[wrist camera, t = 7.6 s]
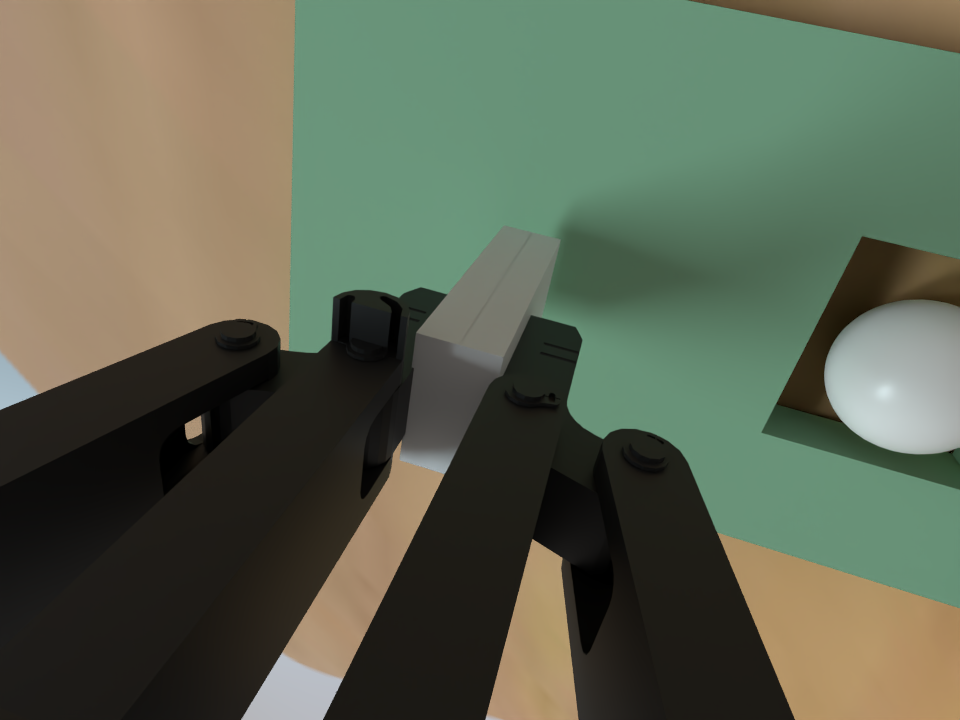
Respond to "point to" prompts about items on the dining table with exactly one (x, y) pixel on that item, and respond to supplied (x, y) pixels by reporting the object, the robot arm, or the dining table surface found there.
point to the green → (649, 225)
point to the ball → (899, 376)
